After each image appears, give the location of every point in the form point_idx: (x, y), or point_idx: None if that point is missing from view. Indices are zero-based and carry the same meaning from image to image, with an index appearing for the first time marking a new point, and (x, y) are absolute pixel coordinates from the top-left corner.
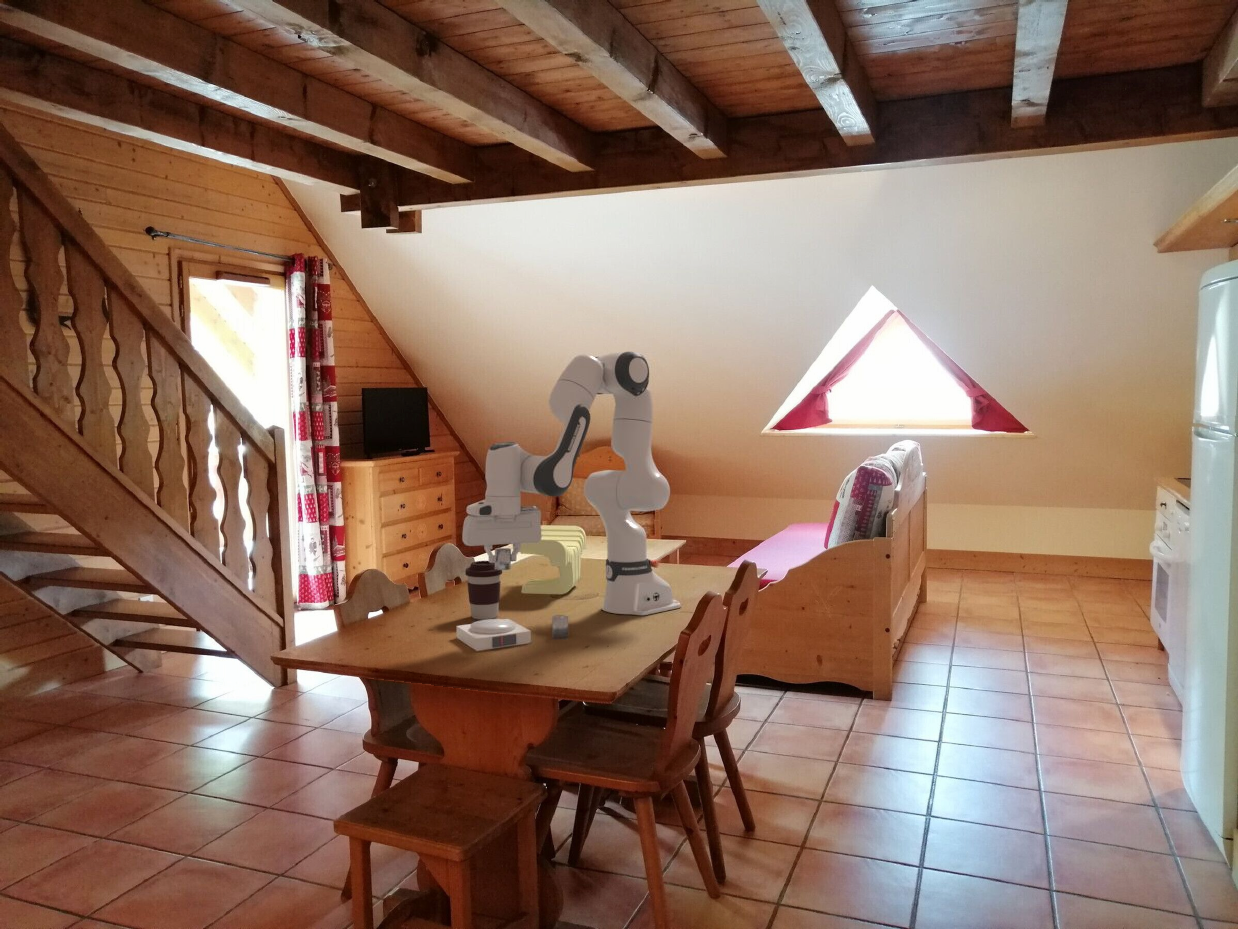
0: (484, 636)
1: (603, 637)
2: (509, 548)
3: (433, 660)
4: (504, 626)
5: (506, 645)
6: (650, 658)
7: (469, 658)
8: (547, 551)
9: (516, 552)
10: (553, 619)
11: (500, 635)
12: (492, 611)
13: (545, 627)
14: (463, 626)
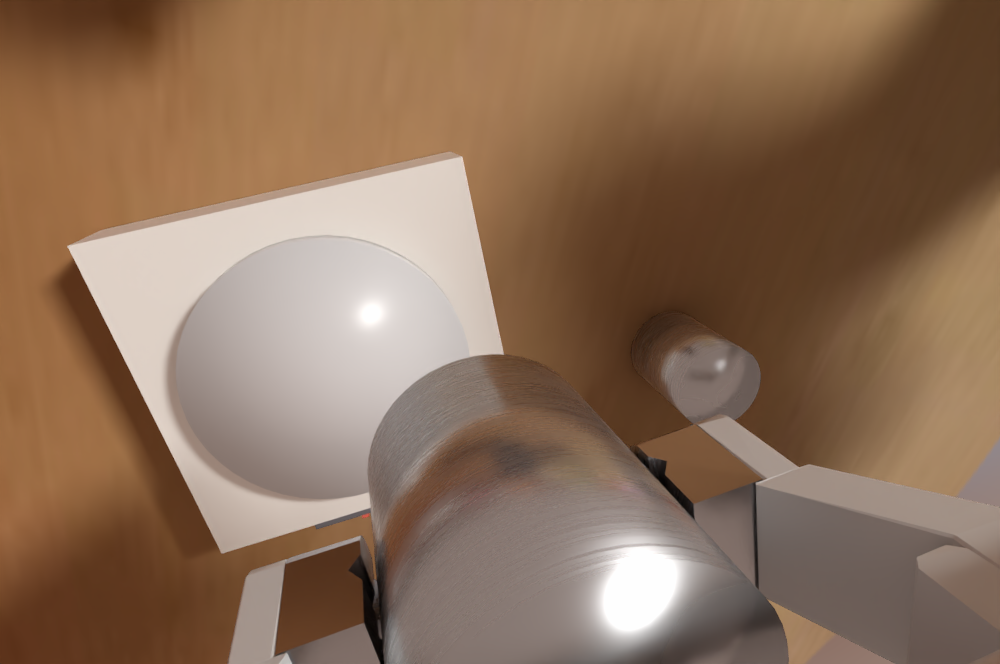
0: (269, 520)
1: (811, 403)
2: (776, 653)
3: (7, 618)
4: None
5: None
6: (812, 652)
7: (198, 605)
8: None
9: (825, 609)
10: (676, 401)
11: (360, 510)
12: None
13: (659, 147)
14: (125, 274)
